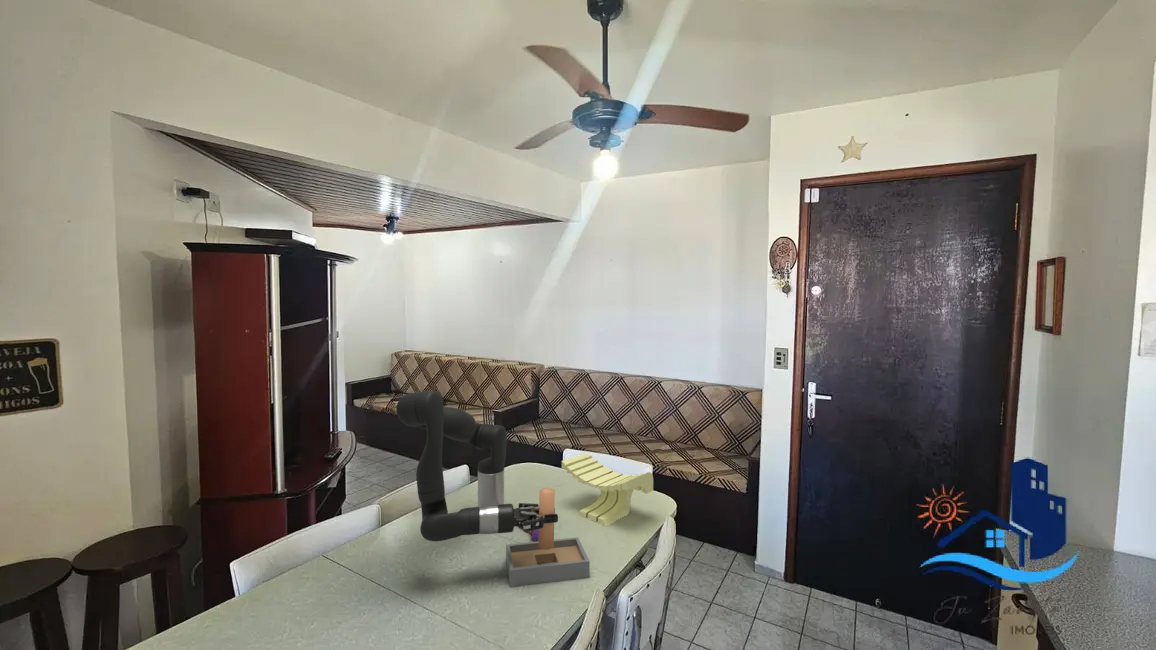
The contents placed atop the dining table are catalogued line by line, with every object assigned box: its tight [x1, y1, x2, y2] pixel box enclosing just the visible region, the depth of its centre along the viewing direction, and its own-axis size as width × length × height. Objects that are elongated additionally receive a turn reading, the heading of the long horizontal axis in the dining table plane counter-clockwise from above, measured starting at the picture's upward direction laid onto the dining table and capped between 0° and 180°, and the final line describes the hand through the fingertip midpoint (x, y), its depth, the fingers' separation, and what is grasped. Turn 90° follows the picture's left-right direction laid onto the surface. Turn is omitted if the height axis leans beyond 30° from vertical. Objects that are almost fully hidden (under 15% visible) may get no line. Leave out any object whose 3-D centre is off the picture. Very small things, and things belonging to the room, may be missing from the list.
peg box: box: [505, 537, 590, 588], centre depth 137 cm, size 14×22×4 cm, turn 103°
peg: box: [538, 487, 556, 550], centre depth 136 cm, size 4×4×16 cm
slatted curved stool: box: [561, 452, 654, 527], centre depth 173 cm, size 30×16×18 cm, turn 48°
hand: (555, 514), depth 137 cm, fingers closed on peg, 4 cm apart
